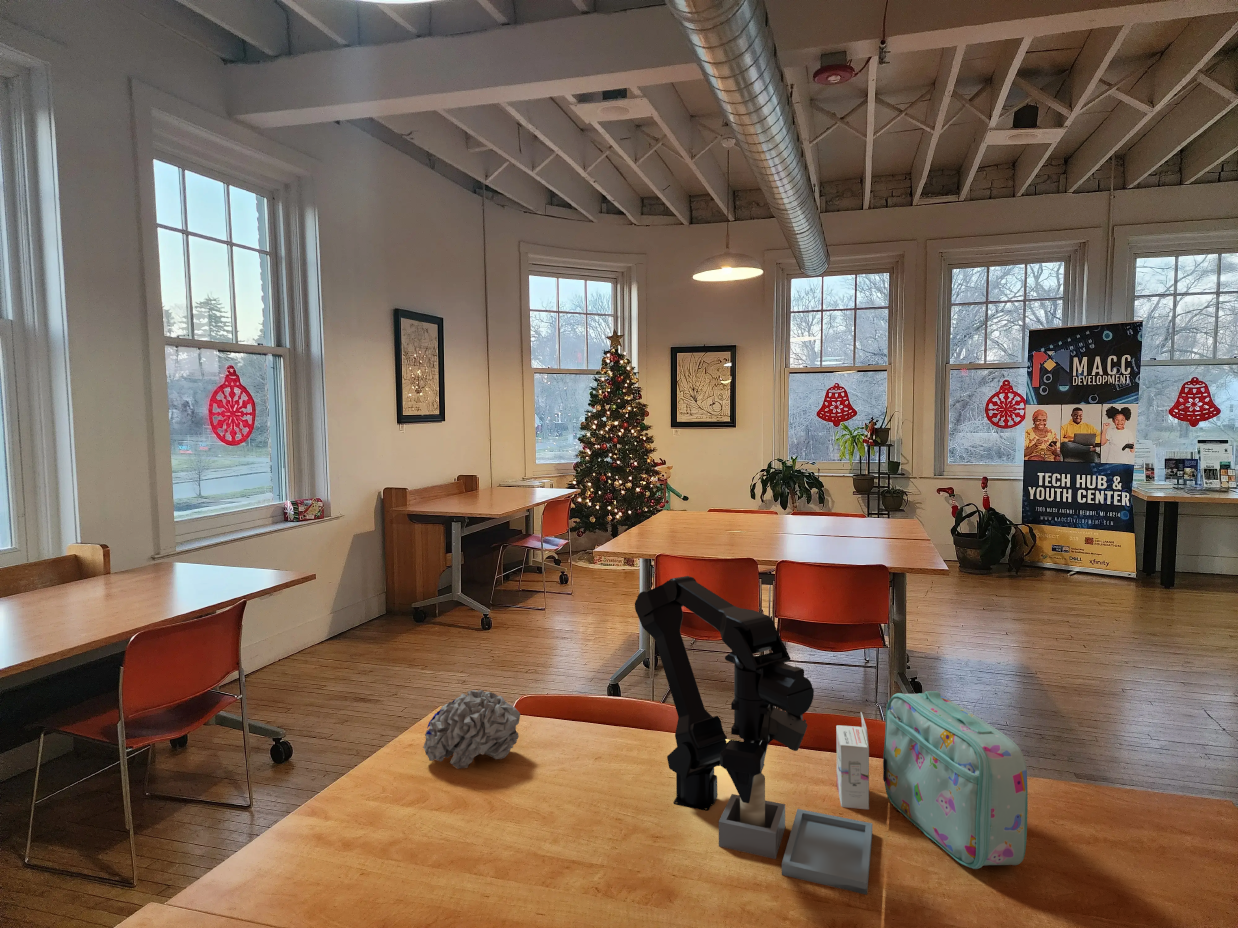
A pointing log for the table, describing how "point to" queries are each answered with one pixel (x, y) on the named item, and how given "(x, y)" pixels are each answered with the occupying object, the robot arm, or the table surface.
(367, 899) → the table surface
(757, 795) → the dowel
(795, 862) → the tray
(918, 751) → the lunch box
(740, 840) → the grey square bin
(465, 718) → the educational model
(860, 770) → the ink cartridge box
